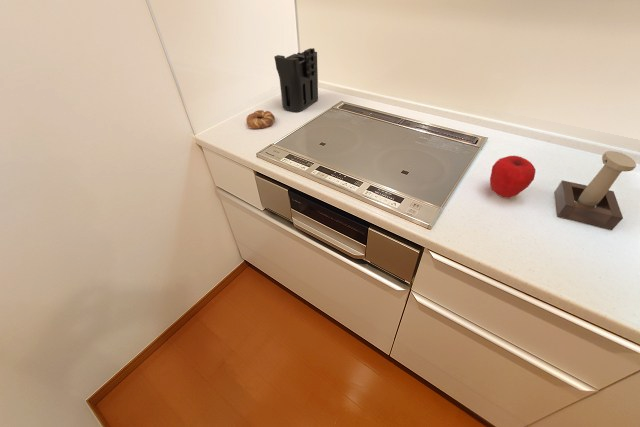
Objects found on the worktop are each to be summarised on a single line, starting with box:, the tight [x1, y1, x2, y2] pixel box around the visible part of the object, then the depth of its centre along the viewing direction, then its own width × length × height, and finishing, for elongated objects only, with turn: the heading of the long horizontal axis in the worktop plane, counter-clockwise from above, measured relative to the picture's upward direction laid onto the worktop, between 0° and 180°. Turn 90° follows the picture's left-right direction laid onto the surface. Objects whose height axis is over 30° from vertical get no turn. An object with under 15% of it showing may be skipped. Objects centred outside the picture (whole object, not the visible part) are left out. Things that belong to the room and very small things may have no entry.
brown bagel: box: [245, 109, 276, 130], centre depth 114 cm, size 12×11×4 cm
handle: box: [576, 150, 637, 207], centre depth 70 cm, size 5×6×15 cm
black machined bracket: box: [273, 47, 319, 113], centre depth 122 cm, size 12×21×22 cm, turn 149°
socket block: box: [554, 179, 624, 231], centre depth 73 cm, size 11×11×4 cm
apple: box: [489, 155, 536, 199], centre depth 77 cm, size 10×10×11 cm
